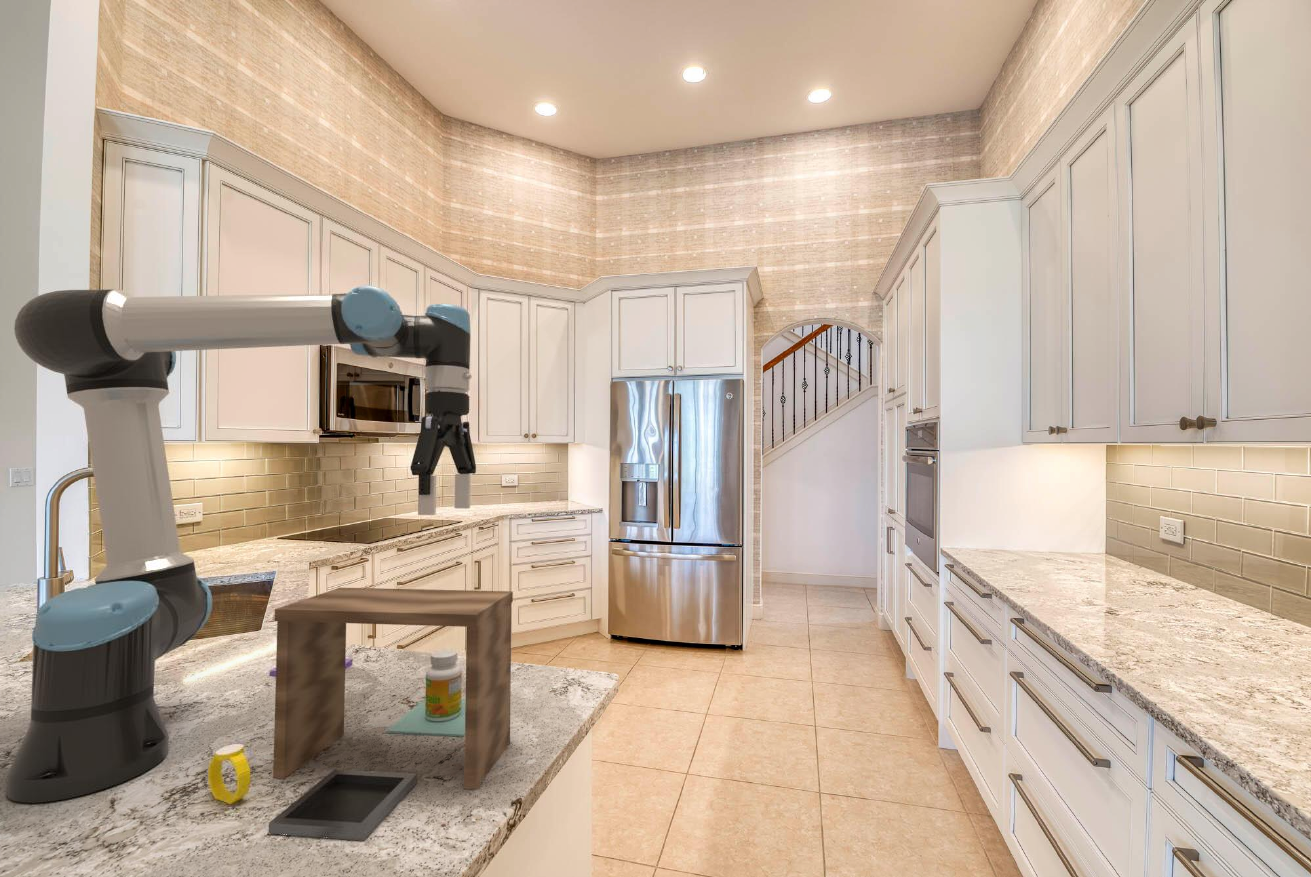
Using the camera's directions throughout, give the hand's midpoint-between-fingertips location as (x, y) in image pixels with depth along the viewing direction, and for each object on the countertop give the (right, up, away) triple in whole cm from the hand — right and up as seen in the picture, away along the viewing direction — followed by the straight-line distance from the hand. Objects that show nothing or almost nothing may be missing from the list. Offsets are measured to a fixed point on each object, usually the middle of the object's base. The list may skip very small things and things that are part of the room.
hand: (445, 511), depth 102 cm
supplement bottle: (+4, -31, -11) cm, 33 cm away
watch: (-14, -31, -33) cm, 47 cm away
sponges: (-30, -33, +10) cm, 45 cm away
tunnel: (+2, -31, -24) cm, 39 cm away
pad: (+4, -31, -11) cm, 33 cm away
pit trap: (+1, -30, -35) cm, 46 cm away
